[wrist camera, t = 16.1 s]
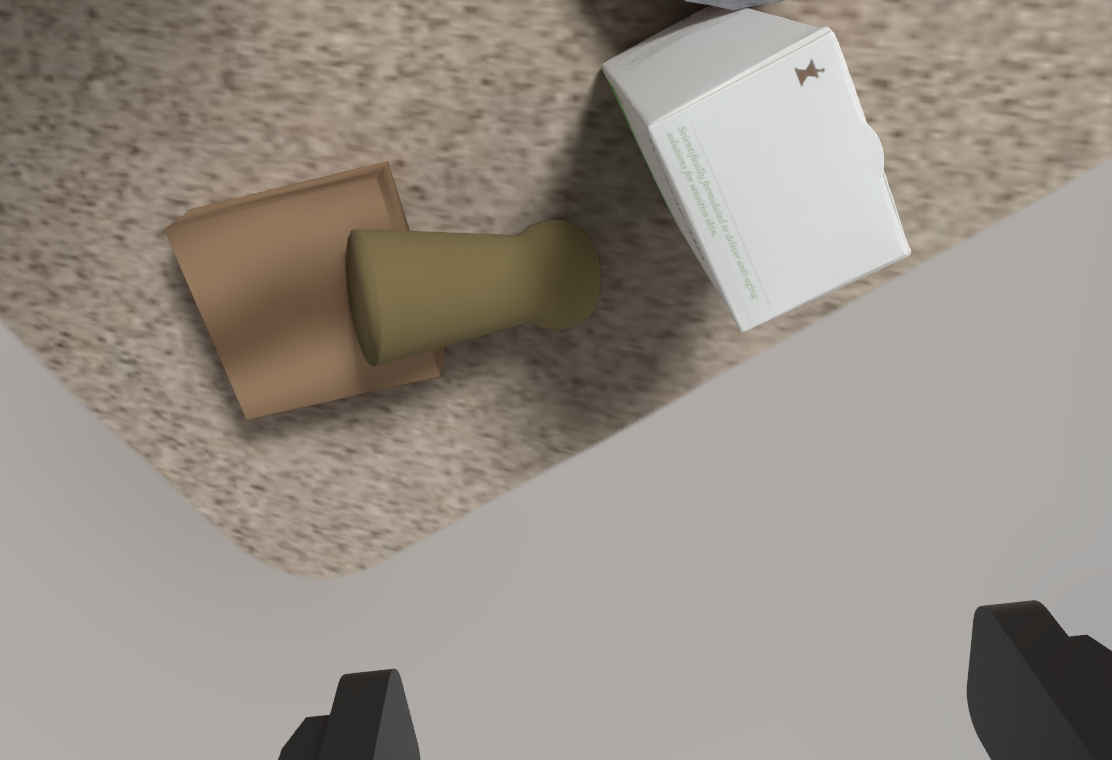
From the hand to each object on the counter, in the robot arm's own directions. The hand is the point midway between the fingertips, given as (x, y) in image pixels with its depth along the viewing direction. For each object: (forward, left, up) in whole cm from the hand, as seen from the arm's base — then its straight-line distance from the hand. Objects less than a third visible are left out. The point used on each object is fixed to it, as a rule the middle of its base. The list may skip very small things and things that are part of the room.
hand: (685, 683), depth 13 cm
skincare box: (-2, +6, -34) cm, 35 cm away
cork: (+3, -10, -28) cm, 29 cm away
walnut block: (+4, -13, -34) cm, 37 cm away
